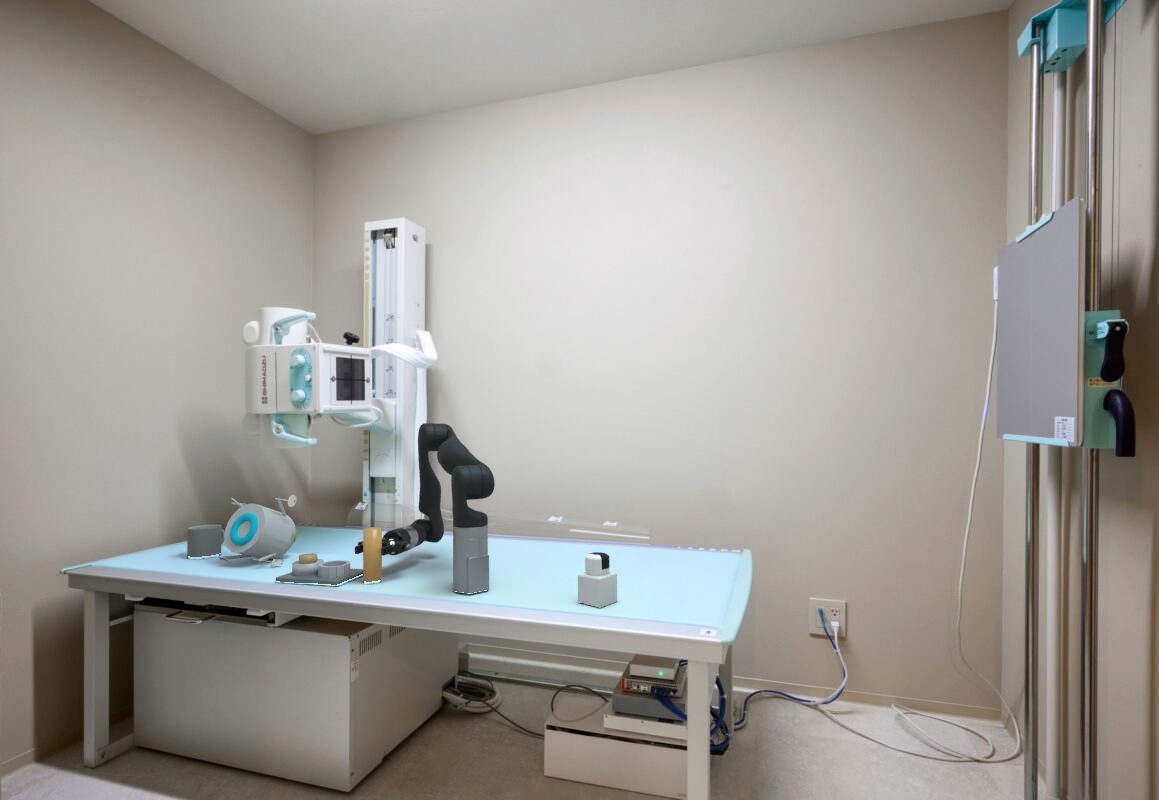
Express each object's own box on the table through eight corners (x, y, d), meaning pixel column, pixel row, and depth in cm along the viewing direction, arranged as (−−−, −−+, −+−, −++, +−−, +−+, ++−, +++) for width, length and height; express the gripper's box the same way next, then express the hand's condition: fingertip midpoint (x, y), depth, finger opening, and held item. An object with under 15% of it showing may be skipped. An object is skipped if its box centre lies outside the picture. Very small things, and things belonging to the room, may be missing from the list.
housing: (367, 574, 177) (367, 552, 178) (336, 587, 164) (336, 563, 164) (310, 570, 182) (310, 549, 183) (275, 582, 169) (276, 559, 169)
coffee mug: (200, 560, 198) (201, 530, 198) (180, 558, 202) (180, 528, 202) (236, 552, 211) (237, 523, 211) (216, 550, 214) (217, 522, 215)
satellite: (321, 505, 207) (264, 508, 214) (278, 488, 190) (218, 492, 197) (305, 572, 197) (247, 573, 205) (258, 561, 180) (196, 562, 188)
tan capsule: (384, 582, 169) (384, 528, 169) (366, 585, 165) (367, 530, 166) (377, 578, 172) (377, 526, 173) (360, 581, 169) (360, 528, 170)
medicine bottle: (595, 596, 153) (594, 549, 153) (617, 601, 148) (617, 553, 149) (577, 603, 147) (577, 554, 148) (600, 608, 143) (599, 558, 143)
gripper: (380, 527, 185) (347, 536, 170) (421, 528, 181) (391, 538, 166) (380, 551, 185) (347, 563, 169) (421, 553, 181) (391, 566, 166)
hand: (369, 551), depth 168 cm, fingers open, 8 cm apart
